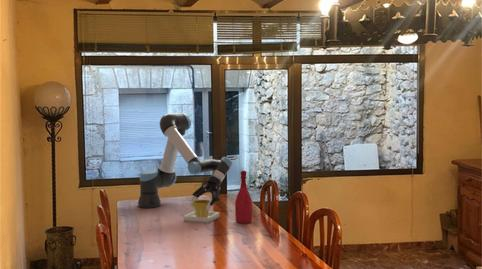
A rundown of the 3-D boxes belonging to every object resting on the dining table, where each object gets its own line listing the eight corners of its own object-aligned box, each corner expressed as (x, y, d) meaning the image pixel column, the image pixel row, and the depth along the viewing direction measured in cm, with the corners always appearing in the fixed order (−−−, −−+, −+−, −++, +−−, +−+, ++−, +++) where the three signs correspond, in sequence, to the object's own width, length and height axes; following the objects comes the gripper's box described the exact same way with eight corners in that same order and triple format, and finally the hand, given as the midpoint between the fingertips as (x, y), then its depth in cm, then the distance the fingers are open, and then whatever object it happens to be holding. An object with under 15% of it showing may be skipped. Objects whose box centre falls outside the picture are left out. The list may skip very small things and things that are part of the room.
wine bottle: (252, 224, 295) (252, 172, 293) (235, 224, 295) (234, 172, 293) (252, 219, 305) (251, 169, 302) (235, 219, 305) (235, 169, 303)
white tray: (183, 221, 303) (183, 216, 303) (195, 215, 318) (195, 210, 318) (208, 223, 297) (208, 218, 297) (219, 217, 312) (219, 212, 312)
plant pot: (212, 215, 312) (211, 199, 311) (209, 219, 302) (209, 203, 301) (195, 215, 313) (194, 199, 312) (192, 219, 303) (191, 203, 302)
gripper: (234, 185, 309) (217, 214, 299) (204, 180, 326) (187, 208, 316) (228, 177, 305) (210, 207, 295) (198, 173, 321) (181, 201, 311)
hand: (198, 207), depth 305 cm, fingers open, 13 cm apart
